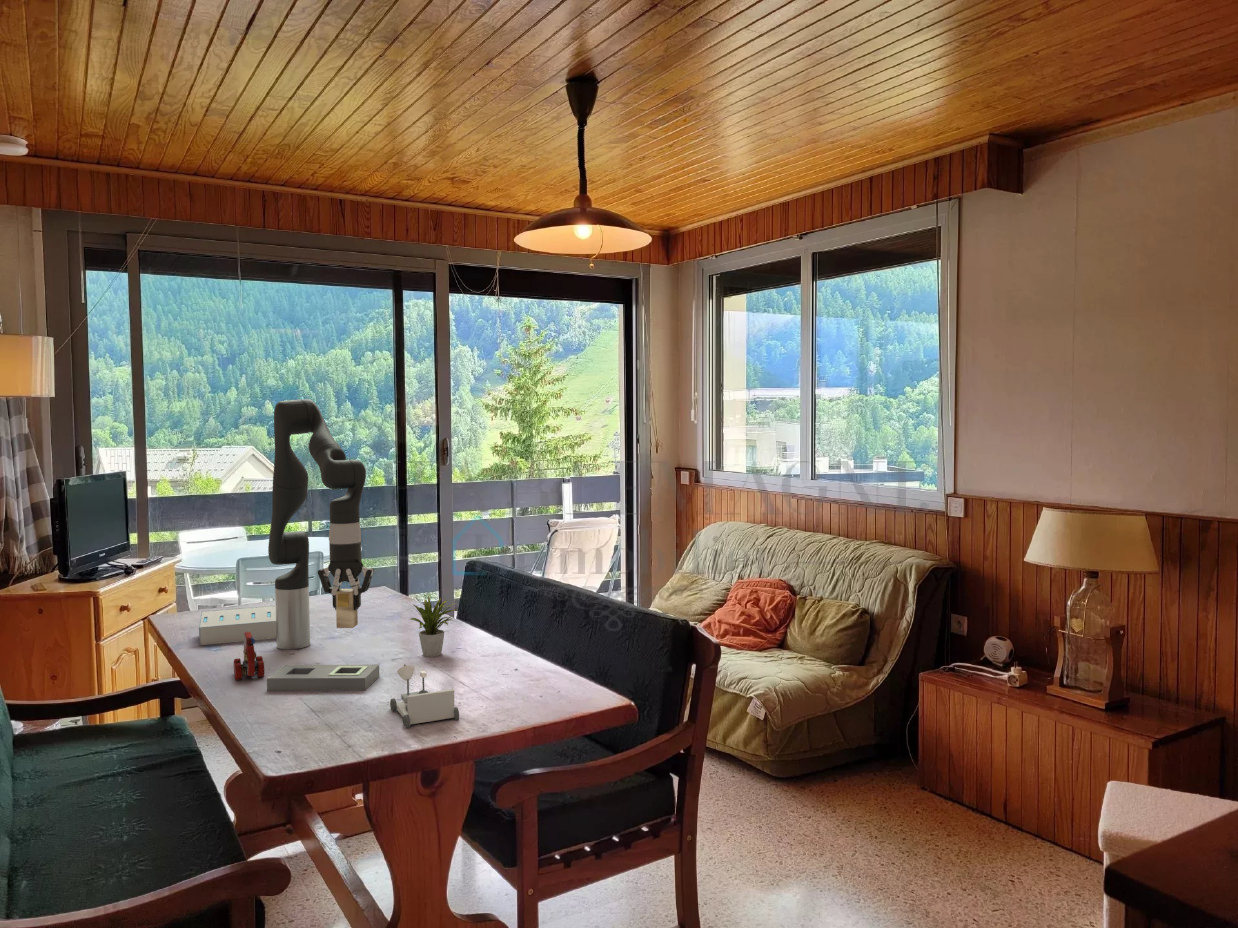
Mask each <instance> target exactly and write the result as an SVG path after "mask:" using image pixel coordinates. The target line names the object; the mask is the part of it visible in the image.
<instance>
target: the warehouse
mask: <svg viewBox="0 0 1238 928" xmlns="http://www.w3.org/2000/svg"><path fill="white" fill-rule="evenodd" d="M245 632H251V635H252V637H253V638H254V640H255V641H259V640H260V641H261V640H272V639H276V605H268V606H266V605H264V606H253V607H241V608H240V607H239V608H229V609H228V608H227V609H215V610H203V611H201V613H200V619H199V626H198V640H199V646H207V645H215V644H216V645H217V644H227V643H238V642H240V643H241V642H244V633H245Z"/></svg>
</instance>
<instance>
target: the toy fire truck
mask: <svg viewBox="0 0 1238 928" xmlns="http://www.w3.org/2000/svg"><path fill="white" fill-rule="evenodd" d="M255 643H256V640H254V638H253V637H252V635H251V632H245V633H244V641H243V651H242V652H243V661H241V658H234V659H233V672H234V673H233V674H234V680H235V681H238V680H239V681H240V680H242V679H243V677H246V676H247V677H254V676H255V673H256V674H257V678H263V677H265V662H264V658H263V656H262V655H258V656H257V652H256V651H255V645H254V644H255Z"/></svg>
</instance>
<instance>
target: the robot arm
mask: <svg viewBox="0 0 1238 928" xmlns="http://www.w3.org/2000/svg"><path fill="white" fill-rule="evenodd" d="M326 422H327V421H326V420H325V418H324V416H323V414H322V412H321V410H320V408H319V407H318V405H317V403H316V402H314V401H313V400H311V399H307V398H306V399H305V398H304V399H292V400H291V399H290V400H281V401H278V402H277V403H276V404H275V407H274V412H273V431H274V432H273V433H274V434H273V435H274V436H273V437H274V461H273V474H272V475H273V476H272V491H271V492H272V497H271V498H272V500H271V502H272V504H271V506H272V507H271V521H270V529H269V530H270V531H269V537H268V538H269V539H268V547H267V548H268V550H267V551H268V559H269V562H270V563H271V564H272V565H282V566H283V565H295V566H294V567H293V568H292V569H291V570H290V571H288V572H286V573H284V574H281V575H280V576H278V577H277V578H275V579H274V580H275V581H274V596H275V600H274V601H275V606H276V638H275V640H276V648H277V649H281V650H295V649H303V648H306V647H309V646H310V645H311V616H310V587H309V586H310V585H309V584H310V582H309V581H310V580H309V577H310V576H309V569H310V568H309V565H310V564H309V563H310V562H309V561H310V559H309V558H310V557H309V556H310V541H309V536H308V534H307V533H306V532H305V531H287V532H286V531H285V530H286V527H287V525H288V523H289V522H290V520H291V518H293V516H294V515H296V513H297V512H298V511H299V509H300V508H301V507H302V506H303V504H304V503H305V501H306V499H307V496H308V490H309V489H308V487H309V474H308V471H307V469H306V467H305V466H304V463H302V461H300V459H299V458H298V456H297V455H296V454H295V452H294V450H293V448H292V446H291V436H293V435H294V436H295V435H304V434H309V433H311V434H312V435H311V437H310V439H309V443H308V450H309V451H308V452H309V453H310V455H311V457H312V459H313V460H314V461H315V463H316V465H318V468H319V470H320V471H319V472H320V478H321V482H322V484H323V485H324V487H326V488H328V489H330V490H339V489H340V490H342V489H347V490H346V492H345V495H344V496H341V497H338V498H334V499H333V500H331V501H330V502H329V529H328V532H329V533H328V535H329V536H328V542H329V543H328V544H329V546H328V547H329V564H328V567H325V568H321V569H318V570H317V575H318V577H319V580H320V583H321V586H322V589H323V591H324V593H326V594H327V593H328V594H330V595H331V597H332V607H333V609H335V610H334V611H336V591H338V590H340V589H341V586H342V583H343V582H346V583H349V585H350V588H351V589H352V590H353V593H354V595H353V606H354V610H357V611H358V610H359V608H360V607H361V606H362V594H364V593H366V592H367V591H368V590H369V589H370V585H371V582H372V579H373V575H374V573H375V569H374V567H370V568H368V567H365V566H364V564H363V562H362V529H361V524H360V503H361V500H362V495H363V490H364V487H365V484H366V478H367V472H366V471H367V470H366V467H365V465H364V464H363V462H362V461H360V460H358V459H347V456H346V453H345V451H344V450H343V448H342V447H341V446H340V445H339V443H338V442H337V441H336V440H335V438H334V437H333V435H332V434H331V432H330V429H329V427H328V425H327V423H326ZM361 573H363V574H362V575H363V581H362V584H361V583H360V578H359V577H360V575H361ZM330 574H331V575H332V577H333V583H332V584H331V581H330V577H329V575H330Z"/></svg>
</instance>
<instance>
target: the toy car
mask: <svg viewBox="0 0 1238 928" xmlns="http://www.w3.org/2000/svg"><path fill="white" fill-rule="evenodd" d="M414 672H415V666H413V665H406V664H405V663H404V664H403V666H401V667H399V668H398V669H397V671H396V673H397V675H398V676H399V677H400V678H402V680H404V681H406V691H407V692H405V693H400V699H401V700H402V701H398V702H397V700H396V698H395V697H394V698H391V699H390V700H389V705H390V710H391V711H392V712H394V713H395V712H397V711H398V713H399V714H400V715H401V717H402V725H403V728H404V729H410V728H411V725H416V724H420V723H427V722H428V723H429V722H434V721H440V720H445V719H446V720H447V719H453V720H454V721H456V722H457V721H460V711H459V708H458V706H455V690H454V688H452V689H443V690H437V691H430V692H429V691H428V690H425V678H427V677H428V676H427V672H426V671H425V670H420V671H419V676H420V677H421V679H422V681H421V682H422V683H421V684H422V689H421V690H420V691H414V692H410V680H411V679H412V677H413V676H414Z"/></svg>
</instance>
